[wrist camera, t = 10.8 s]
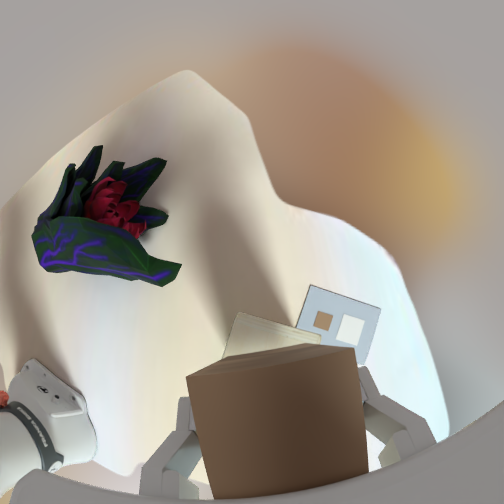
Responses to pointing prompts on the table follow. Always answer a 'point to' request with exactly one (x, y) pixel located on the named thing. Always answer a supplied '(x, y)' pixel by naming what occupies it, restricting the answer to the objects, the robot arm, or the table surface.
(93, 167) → the decorative plant
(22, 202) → the table surface
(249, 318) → the tall cream box
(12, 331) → the table surface
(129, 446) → the table surface
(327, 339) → the page
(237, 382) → the walnut block
